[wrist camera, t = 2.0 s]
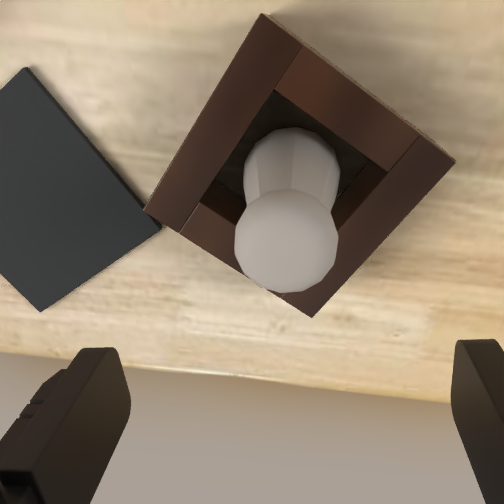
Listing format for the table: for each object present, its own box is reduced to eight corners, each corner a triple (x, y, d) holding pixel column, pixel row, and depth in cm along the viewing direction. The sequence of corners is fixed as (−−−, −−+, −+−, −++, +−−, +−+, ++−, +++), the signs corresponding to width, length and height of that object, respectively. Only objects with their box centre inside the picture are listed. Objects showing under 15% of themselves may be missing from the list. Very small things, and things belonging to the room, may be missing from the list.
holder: (163, 186, 31) (142, 210, 27) (267, 14, 26) (261, 12, 22) (311, 283, 33) (312, 318, 29) (435, 142, 28) (457, 161, 24)
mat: (-89, 180, 33) (-94, 182, 32) (27, 66, 28) (23, 67, 28) (43, 309, 37) (40, 312, 36) (162, 226, 32) (160, 229, 32)
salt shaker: (330, 211, 31) (346, 325, 19) (245, 204, 31) (210, 311, 19) (343, 123, 28) (371, 192, 16) (250, 115, 28) (213, 178, 17)
